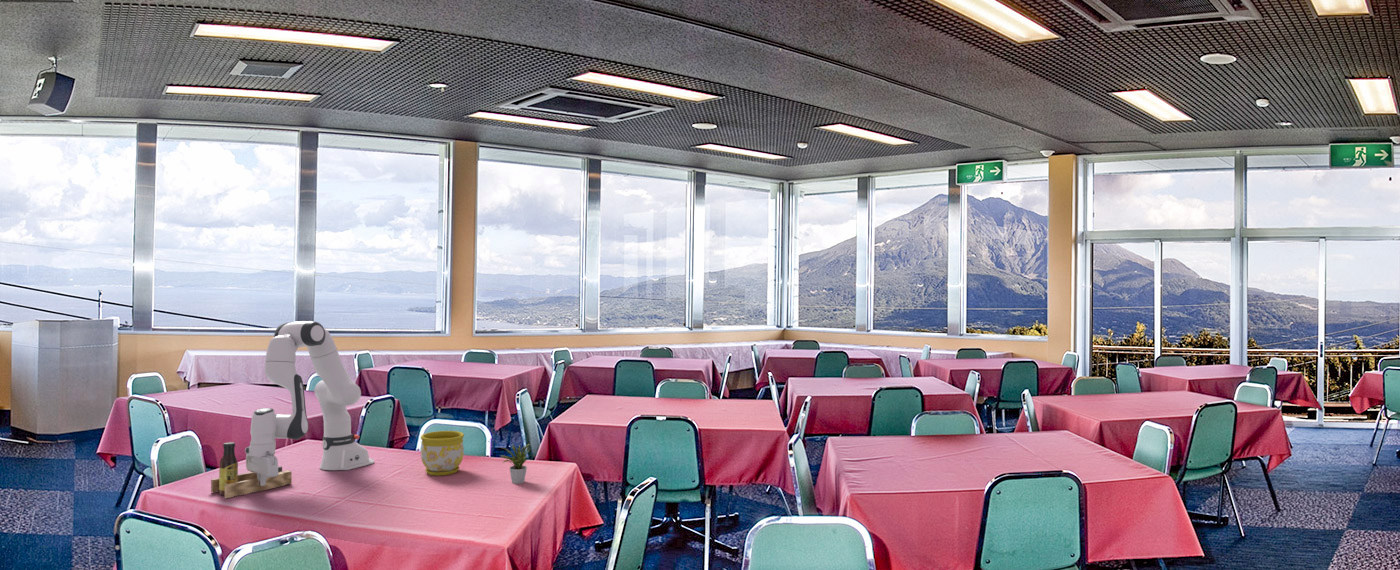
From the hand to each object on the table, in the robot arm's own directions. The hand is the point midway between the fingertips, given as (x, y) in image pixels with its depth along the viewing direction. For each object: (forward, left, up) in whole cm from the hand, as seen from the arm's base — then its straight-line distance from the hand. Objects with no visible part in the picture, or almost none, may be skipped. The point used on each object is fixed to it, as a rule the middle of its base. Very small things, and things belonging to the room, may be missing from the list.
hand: (261, 485), depth 315 cm
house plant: (-76, +64, -3) cm, 99 cm away
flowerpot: (-64, +27, -3) cm, 69 cm away
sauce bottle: (+9, -8, -3) cm, 13 cm away
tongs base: (0, -10, -3) cm, 11 cm away
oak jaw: (0, -3, -2) cm, 4 cm away
